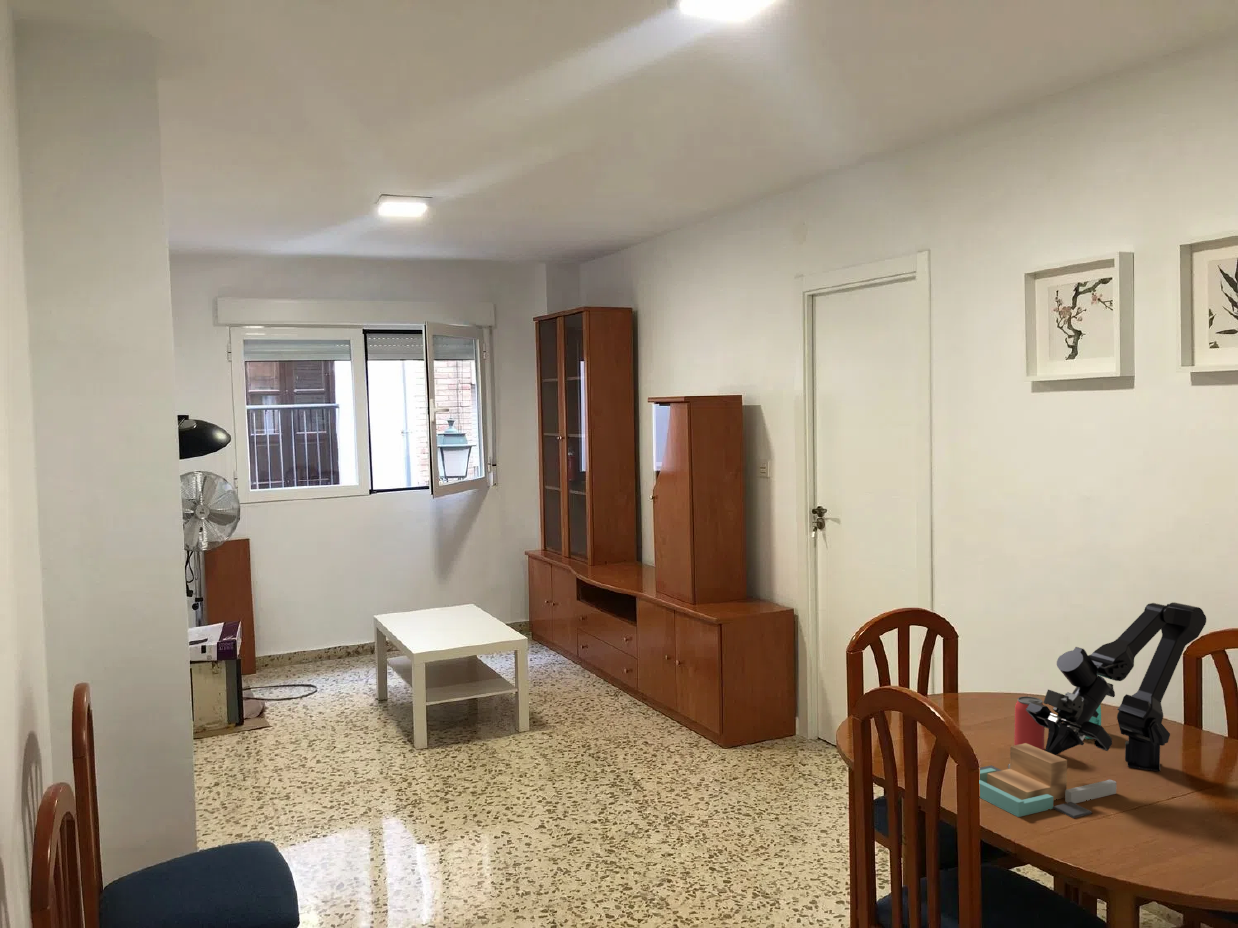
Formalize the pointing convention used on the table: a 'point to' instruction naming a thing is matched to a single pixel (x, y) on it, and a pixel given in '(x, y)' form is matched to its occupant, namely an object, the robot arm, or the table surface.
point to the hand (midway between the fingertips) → (1046, 756)
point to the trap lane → (1043, 797)
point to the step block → (1031, 774)
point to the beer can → (1027, 724)
